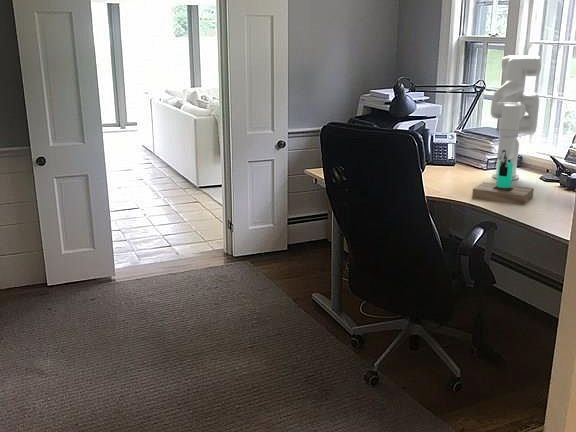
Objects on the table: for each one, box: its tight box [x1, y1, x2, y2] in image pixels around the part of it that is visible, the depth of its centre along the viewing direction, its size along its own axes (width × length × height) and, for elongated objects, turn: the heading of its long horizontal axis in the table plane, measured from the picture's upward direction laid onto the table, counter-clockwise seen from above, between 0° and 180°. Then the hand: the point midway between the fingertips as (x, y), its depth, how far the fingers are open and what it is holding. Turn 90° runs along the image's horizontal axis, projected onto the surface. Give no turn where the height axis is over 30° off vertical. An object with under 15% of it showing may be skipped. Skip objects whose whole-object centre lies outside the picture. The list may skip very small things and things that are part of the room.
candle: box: [496, 162, 513, 188], centre depth 267 cm, size 6×6×12 cm
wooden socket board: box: [471, 181, 535, 206], centre depth 270 cm, size 16×22×4 cm
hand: (504, 174), depth 267 cm, fingers closed on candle, 4 cm apart
